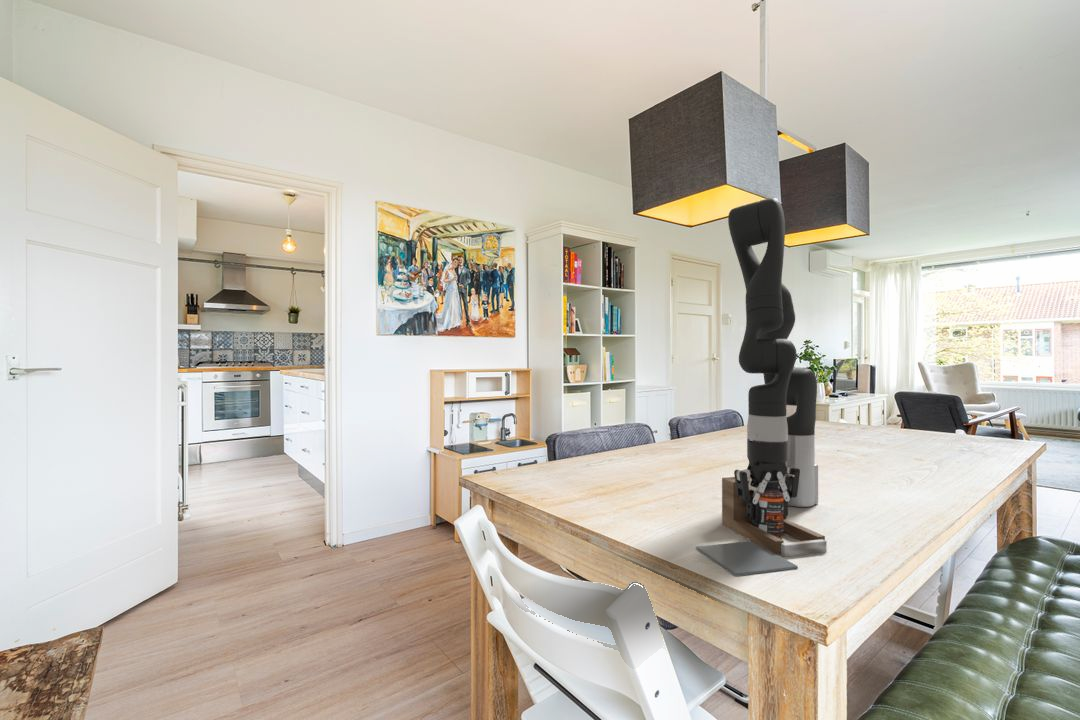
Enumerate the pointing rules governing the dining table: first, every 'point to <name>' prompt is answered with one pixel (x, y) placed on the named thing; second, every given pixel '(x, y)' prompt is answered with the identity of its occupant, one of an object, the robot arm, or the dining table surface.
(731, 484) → the dispenser
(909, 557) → the dining table surface
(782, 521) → the supplement bottle
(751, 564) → the plate
